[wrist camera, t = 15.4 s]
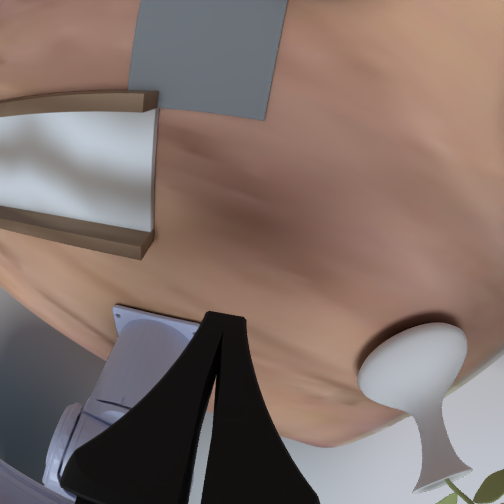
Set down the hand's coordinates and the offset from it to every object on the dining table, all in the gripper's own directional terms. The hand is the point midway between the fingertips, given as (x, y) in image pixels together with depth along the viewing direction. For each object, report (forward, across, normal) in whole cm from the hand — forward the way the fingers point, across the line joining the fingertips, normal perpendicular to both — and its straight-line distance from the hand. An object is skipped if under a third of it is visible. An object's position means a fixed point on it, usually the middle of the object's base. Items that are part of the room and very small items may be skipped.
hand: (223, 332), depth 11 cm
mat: (+9, +4, -10) cm, 14 cm away
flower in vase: (+10, -18, +10) cm, 23 cm away
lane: (+9, +19, -2) cm, 21 cm away
